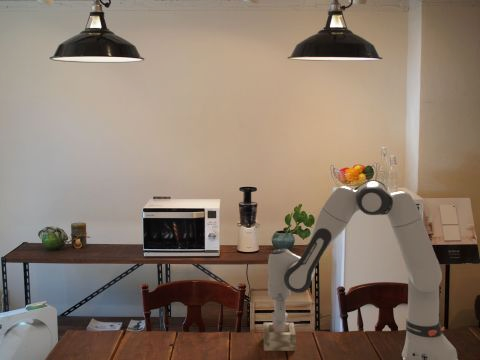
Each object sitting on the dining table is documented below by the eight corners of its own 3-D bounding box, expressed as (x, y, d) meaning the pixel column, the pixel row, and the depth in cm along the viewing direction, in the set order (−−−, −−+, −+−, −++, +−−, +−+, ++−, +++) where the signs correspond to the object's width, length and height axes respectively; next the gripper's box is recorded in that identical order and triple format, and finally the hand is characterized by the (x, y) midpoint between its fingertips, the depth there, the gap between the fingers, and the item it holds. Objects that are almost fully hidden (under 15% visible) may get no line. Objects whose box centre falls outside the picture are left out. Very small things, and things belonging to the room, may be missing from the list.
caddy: (293, 337, 252) (293, 322, 251) (295, 350, 240) (295, 334, 239) (263, 338, 252) (263, 322, 251) (264, 350, 240) (264, 334, 239)
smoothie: (286, 341, 242) (286, 306, 240) (270, 340, 243) (269, 305, 241) (288, 334, 248) (288, 300, 246) (272, 333, 250) (272, 299, 247)
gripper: (289, 299, 233) (289, 334, 235) (285, 281, 253) (286, 314, 255) (272, 299, 233) (272, 334, 235) (270, 282, 253) (270, 314, 255)
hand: (279, 324), depth 245 cm, fingers closed on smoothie, 5 cm apart
